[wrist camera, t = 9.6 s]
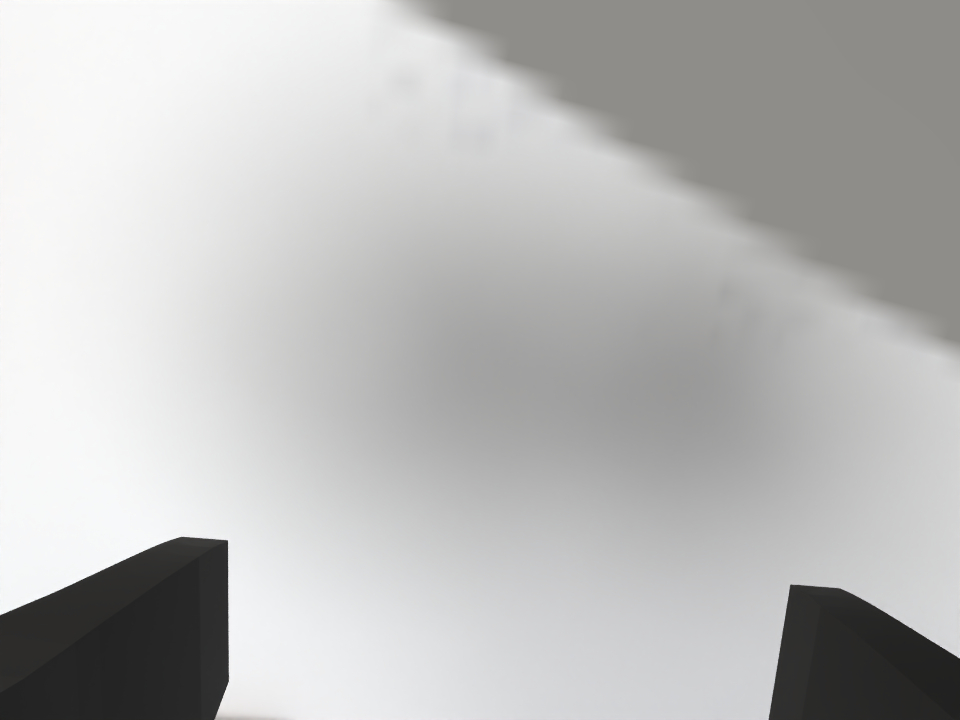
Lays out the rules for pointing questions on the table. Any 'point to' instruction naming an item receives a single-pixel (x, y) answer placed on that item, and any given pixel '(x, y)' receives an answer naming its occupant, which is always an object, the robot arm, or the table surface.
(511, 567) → the table surface
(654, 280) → the table surface
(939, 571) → the table surface
